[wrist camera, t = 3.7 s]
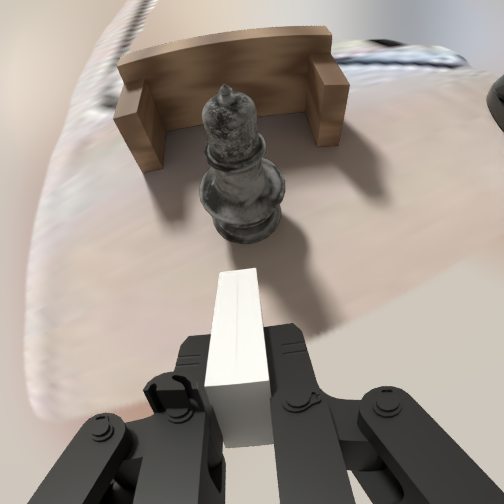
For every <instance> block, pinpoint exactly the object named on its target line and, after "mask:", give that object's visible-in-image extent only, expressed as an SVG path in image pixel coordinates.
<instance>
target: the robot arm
mask: <svg viewBox="0 0 504 504" xmlns="http://www.w3.org/2000/svg"><path fill="white" fill-rule="evenodd" d="M487 104H488V107H489V109H490V111H491V113H492V115H493V117H494V118H495V120H496V121H497V123H498V124H499V125H500V127H501V128H502V129H503V131H504V75H503V76H502V77H500V78H499V79H498V80H497V81H496V82H495V83H494V84H493V85H492V87H491V89H490V91H489V93H488V95H487ZM143 392H144V394H145V396H146V398H147V400H148V402H149V404H150V406H151V408H152V410H153V412H154V415H152V416H150V417H147V418H144V419H141V420H136V421H132V422H127V423H124V422H123V420H122V419H121V417H119V416H117V415H115V414H112V413H102V414H97V415H95V416H93V417H91V418H89V419H88V420H87V421H86V422H85V423H84V424H83V426H82V427H81V428H80V430H79V431H78V432H77V434H76V435H75V436H74V438H73V439H72V441H71V442H70V444H69V445H68V446H67V448H66V449H65V450H64V452H63V453H62V455H61V456H60V458H59V459H58V460H57V462H56V463H55V464H54V466H53V467H52V469H51V470H50V471H49V473H48V474H47V476H46V477H45V479H44V480H43V482H42V483H41V484H40V486H39V487H38V489H37V490H36V492H35V493H34V495H33V496H32V498H31V499H30V501H29V502H28V503H27V504H225V479H226V463H225V459H224V456H223V453H222V449H223V442H224V445H225V447H226V448H235V447H249V446H260V445H269V444H274V449H275V459H276V468H277V478H278V488H279V497H280V504H356V503H355V500H354V496H353V493H352V488H351V485H350V481H349V477H348V474H347V470H351V471H352V473H353V474H354V476H355V477H356V479H357V480H358V482H359V483H360V485H361V486H362V488H363V489H364V491H365V493H366V494H367V496H368V497H369V499H370V500H371V502H372V503H373V504H504V493H503V491H502V490H501V489H500V488H499V487H498V486H497V485H496V484H495V483H494V482H493V481H492V480H491V479H490V478H489V477H488V475H487V474H486V473H485V472H483V470H482V469H481V468H480V467H479V466H478V465H477V464H476V463H475V462H474V461H473V460H472V459H471V458H470V457H469V456H468V455H467V453H465V452H464V450H463V449H461V447H460V446H459V445H458V444H457V443H456V442H455V441H454V440H453V439H452V438H451V437H450V436H449V435H448V434H447V433H446V432H445V431H444V430H443V429H442V428H441V427H440V426H439V425H438V423H437V422H435V420H433V418H432V417H431V416H430V415H429V414H428V413H427V412H426V411H425V410H424V409H423V408H422V407H421V406H420V405H419V404H418V403H417V402H416V401H415V400H414V399H413V398H412V397H411V396H410V395H409V394H408V393H406V392H405V391H403V390H402V389H400V388H396V387H392V386H382V387H378V388H374V389H372V390H370V391H369V392H368V393H366V394H365V395H364V396H363V398H362V400H345V399H337V398H334V397H331V396H329V395H327V394H326V393H324V392H323V391H322V390H321V389H320V388H319V386H318V384H317V381H316V377H315V374H314V371H313V367H312V364H311V360H310V357H309V354H308V351H307V347H306V343H305V340H304V337H303V333H302V331H301V330H300V329H299V328H298V327H297V326H296V325H294V324H293V323H290V324H283V325H276V326H269V327H264V325H263V317H262V310H261V302H260V295H259V287H258V279H257V272H256V268H250V269H243V270H235V271H227V272H220V275H219V281H218V288H217V295H216V302H215V309H214V317H213V324H212V331H211V334H207V335H196V336H188V338H187V339H186V340H185V341H184V342H183V343H182V345H181V346H180V350H179V354H178V358H177V362H176V367H175V370H174V371H173V372H167V373H163V374H161V375H158V376H156V377H154V378H153V379H152V380H151V381H149V382H148V383H147V384H146V386H145V388H144V389H143Z"/></svg>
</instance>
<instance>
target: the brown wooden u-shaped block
mask: <svg viewBox="0 0 504 504" xmlns="http://www.w3.org/2000/svg"><path fill="white" fill-rule="evenodd" d="M331 45H332V34H331V32H330V31H329V30H328V29H327V27H326V26H290V27H289V26H288V27H270V28H258V29H247V30H239V31H231V32H224V33H217V34H210V35H205V36H199V37H194V38H189V39H184V40H179V41H175V42H170V43H166V44H162V45H158V46H154V47H150V48H147V49H143V50H139V51H136V52H132V53H129V54H126V55H123V56H121V58H120V60H119V63H118V65H117V68H118V70H119V73H120V75H121V77H122V80H123V82H124V86H123V89H122V92H121V95H120V98H119V101H118V104H117V107H116V110H115V114H114V117H113V120H114V122H115V123H116V125H117V127H118V129H119V131H120V133H121V135H122V137H123V138H124V140H125V142H126V144H127V146H128V148H129V149H130V151H131V153H132V155H133V157H134V158H135V160H136V162H137V164H138V166H139V167H140V169H141V171H142V173H143V172H148V171H153V170H158V169H163V159H164V147H165V137H166V131H171V130H176V129H181V128H186V127H191V126H197V125H203V120H202V111H203V108H204V106H205V105H206V103H207V102H208V101H209V100H210V99H211V98H212V97H214V96H216V95H218V94H219V93H218V91H219V89H220V88H221V86H222V85H223V84H226V85H227V86H229V87H230V88H232V91H235V92H240V93H243V94H245V95H247V96H248V97H250V98H251V99H252V100H253V102H254V104H255V107H256V111H257V116H266V115H276V114H286V113H298V112H305V113H306V116H307V118H308V121H309V124H310V127H311V130H312V133H313V136H314V138H315V141H316V144H317V147H324V146H338V145H339V140H340V135H341V130H342V125H343V120H344V115H345V109H346V104H347V98H348V93H349V87H350V84H349V82H348V81H347V79H346V77H345V76H344V74H343V72H342V71H341V69H340V68H339V66H338V64H337V63H336V61H335V60H334V58H333V56H332V55H331Z"/></svg>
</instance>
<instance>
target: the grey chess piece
mask: <svg viewBox="0 0 504 504" xmlns="http://www.w3.org/2000/svg"><path fill="white" fill-rule="evenodd" d="M218 93H219V94H218V95H216V96H214V97H212V98H211V99H210V100H209V101H208V102H207V103H206V105H205V106H204V108H203V111H202V120H203V124H204V128H205V132H206V135H207V139H208V143H207V145H206V147H205V158H206V160H207V162H208V163H209V164H210V165H211V167H210V169H209V170H208V171H207V172H206V173H205V175H204V177H203V179H202V181H201V183H200V189H199V194H200V201H201V203H202V205H203V206H204V208H205V210H206V211H207V212H208V213H209V214H210V215H211V216H212V217H213V222H214V225H215V227H216V229H217V231H218V232H219V233H220V234H221V235H222V236H223V237H224V238H226V239H228V240H229V241H231V242H235V243H239V244H250V243H255V242H259V241H261V240H263V239H265V238H267V237H268V236H269V235H270V234H271V233H272V232H274V230H275V229H276V227H277V226H278V223H279V220H280V217H281V208H280V203H281V202H282V200H283V197H284V194H285V180H284V177H283V174H282V172H281V171H280V170H279V168H278V167H277V166H276V165H275V164H274V163H272V162H271V161H270V160H268V159H266V158H263V157H264V154H265V152H266V143H265V140H264V138H263V137H262V135H261V134H260V133H258V123H257V111H256V107H255V104H254V102H253V100H252V99H251V98H250V97H248V96H247V95H245V94H243V93H240V92H235V91H232V88H230V87H229V86H227V85H226V84H223V85H222V86H221V88H220V89H219V91H218Z"/></svg>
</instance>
